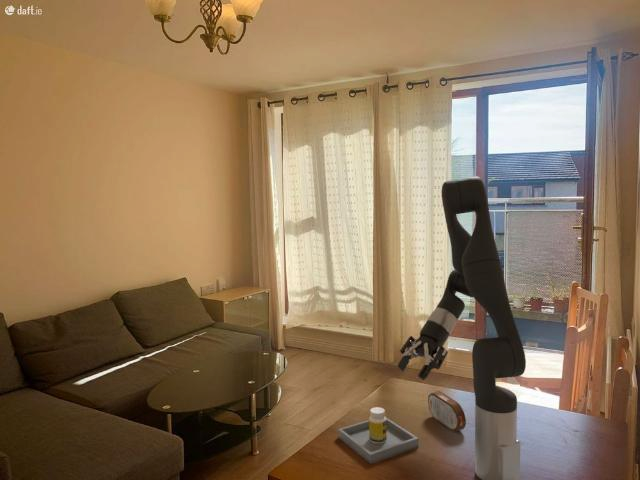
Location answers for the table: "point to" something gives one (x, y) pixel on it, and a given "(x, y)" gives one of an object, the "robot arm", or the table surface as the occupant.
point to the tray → (372, 452)
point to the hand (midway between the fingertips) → (410, 373)
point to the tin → (446, 411)
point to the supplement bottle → (377, 426)
